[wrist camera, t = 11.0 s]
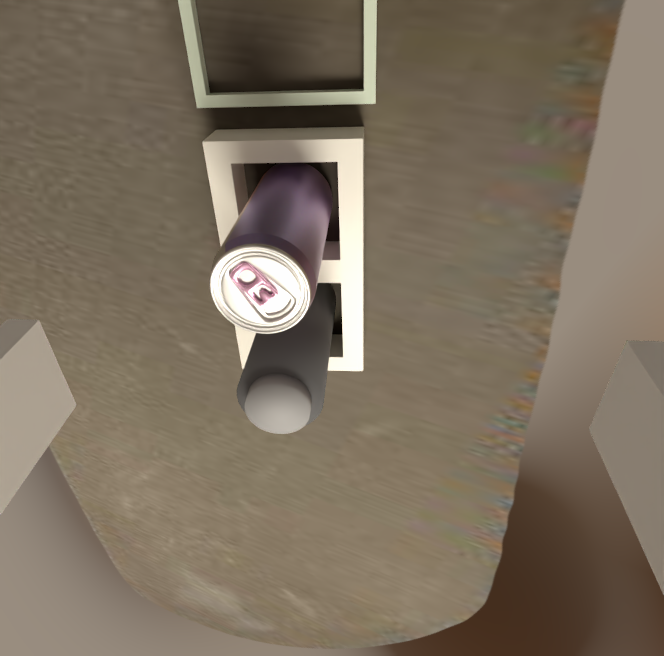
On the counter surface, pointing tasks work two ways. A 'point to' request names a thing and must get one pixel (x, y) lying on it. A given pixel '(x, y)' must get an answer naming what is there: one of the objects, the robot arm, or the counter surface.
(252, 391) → the single round plug
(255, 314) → the beverage can
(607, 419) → the robot arm
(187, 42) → the rectangular frame
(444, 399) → the counter surface
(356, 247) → the white divided tray
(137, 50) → the counter surface
